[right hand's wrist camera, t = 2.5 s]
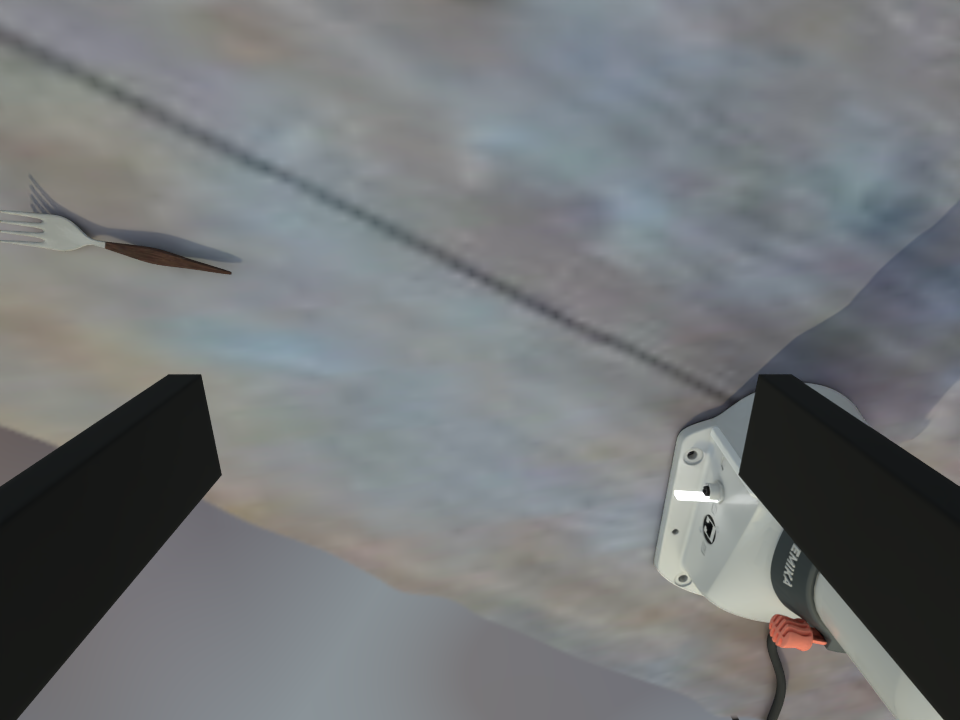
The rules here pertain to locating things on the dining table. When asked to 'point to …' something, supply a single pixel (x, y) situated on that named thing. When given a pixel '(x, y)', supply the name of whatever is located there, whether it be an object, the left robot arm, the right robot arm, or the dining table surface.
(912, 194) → the dining table surface
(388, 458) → the dining table surface
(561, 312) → the dining table surface
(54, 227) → the fork
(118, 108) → the dining table surface
